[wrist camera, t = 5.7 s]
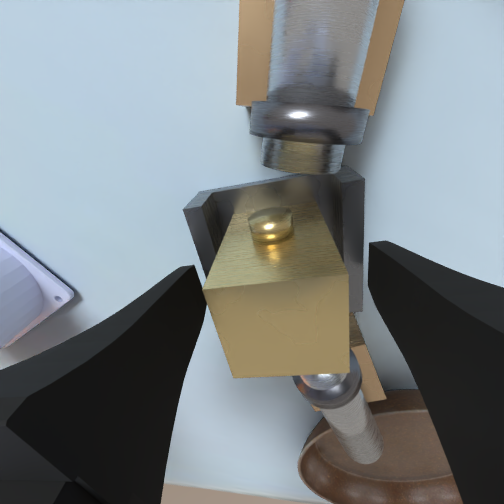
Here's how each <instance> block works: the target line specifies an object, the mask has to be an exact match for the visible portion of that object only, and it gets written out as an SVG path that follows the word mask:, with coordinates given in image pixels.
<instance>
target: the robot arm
mask: <svg viewBox="0 0 504 504" xmlns="http://www.w3.org/2000/svg"><path fill="white" fill-rule="evenodd" d="M368 287H369V290H370V293H371V295H372V298H373V300H374V303H375V305H376V308H377V310H378V311H379V313H380V315H381V317H382V319H383V320H384V322H385V324H386V326H387V328H388V329H389V331H390V333H391V335H392V337H393V338H394V340H395V342H396V344H397V345H398V347H399V349H400V351H401V353H402V354H403V356H404V358H405V360H406V362H407V364H408V366H409V368H410V370H411V372H412V375H413V377H414V379H415V382H416V384H417V386H418V388H419V391H420V393H421V395H422V398H423V400H424V403H425V405H426V408H427V410H428V412H429V415H430V417H431V420H432V422H433V425H434V427H435V430H436V432H437V435H438V437H439V440H440V443H441V445H442V448H443V450H444V453H445V455H446V458H447V461H448V463H449V466H450V468H451V471H452V474H453V477H454V479H455V482H456V485H457V488H458V491H459V493H460V496H461V499H462V502H463V504H504V288H503V287H500V286H497V285H494V284H490V283H487V282H484V281H481V280H478V279H476V278H473V277H470V276H467V275H465V274H462V273H460V272H457V271H455V270H452V269H450V268H447V267H445V266H442V265H440V264H438V263H435V262H433V261H431V260H429V259H426V258H424V257H422V256H420V255H418V254H415V253H413V252H411V251H409V250H407V249H405V248H403V247H400V246H398V245H396V244H394V243H391V242H389V241H379V242H371V243H369V262H368ZM202 289H203V288H202V285H201V283H200V280H199V277H198V274H197V271H196V268H195V266H194V265H190V266H182V267H180V268H178V269H176V270H175V271H173V272H172V273H171V274H169V275H168V276H166V277H165V278H164V279H162V280H161V281H160V282H159V283H157V284H156V285H155V286H153V287H152V288H151V289H149V290H148V291H147V292H145V293H144V294H143V295H141V296H140V297H138V298H137V299H135V300H134V301H133V302H131V303H130V304H128V305H127V306H126V307H124V308H123V309H121V310H120V311H118V312H117V313H115V314H113V315H112V316H110V317H109V318H107V319H105V320H104V321H102V322H100V323H99V324H97V325H95V326H93V327H92V328H90V329H88V330H86V331H84V332H82V333H80V334H79V335H77V336H75V337H73V338H71V339H69V340H67V341H65V342H63V343H61V344H59V345H57V346H55V347H53V348H51V349H49V350H47V351H44V352H42V353H40V354H38V355H36V356H33V357H31V358H29V359H27V360H24V361H22V362H19V363H17V364H15V365H12V366H10V367H7V368H5V369H2V370H0V504H160V503H161V497H162V490H163V484H164V477H165V470H166V464H167V459H168V453H169V447H170V442H171V436H172V431H173V426H174V421H175V417H176V412H177V407H178V403H179V398H180V394H181V390H182V386H183V381H184V378H185V375H186V371H187V368H188V365H189V362H190V359H191V357H192V354H193V351H194V348H195V345H196V342H197V339H198V337H199V334H200V331H201V328H202V325H203V321H204V317H205V312H206V306H207V302H206V299H205V296H204V293H203V291H202ZM73 297H74V292H73V291H72V290H71V289H70V288H69V287H68V286H67V285H65V284H64V283H63V282H62V281H60V280H59V279H58V278H57V277H55V276H54V275H53V274H52V273H50V272H49V271H48V270H47V269H46V268H44V267H43V266H42V265H41V264H39V263H38V262H37V261H36V260H34V259H33V258H32V257H31V256H29V255H28V254H27V253H26V252H24V251H23V250H22V249H21V248H19V247H18V246H17V245H16V244H14V243H13V242H12V241H11V240H9V239H8V238H7V237H6V236H5V235H3V234H2V233H1V232H0V349H1V348H2V347H8V346H10V345H11V344H12V343H14V342H15V341H16V340H18V339H19V338H20V337H22V336H23V335H24V334H26V333H27V332H28V331H30V330H31V329H32V328H34V327H35V326H36V325H38V324H39V323H40V322H42V321H43V320H44V319H46V318H47V317H48V316H50V315H51V314H52V313H54V312H55V311H56V310H58V309H59V308H60V307H62V306H63V305H64V304H66V303H67V302H68V301H70V300H71V299H72V298H73Z"/></svg>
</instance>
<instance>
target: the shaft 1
mask: <svg viewBox="0 0 504 504" xmlns="http://www.w3.org/2000/svg"><path fill="white" fill-rule="evenodd" d="M403 4H404V0H240V4H239V35H238V65H237V96H236V105H239V106H245V107H251V119H250V134H252V135H255V136H259V137H263V144H262V156H261V164H262V165H264V166H266V167H269V168H272V169H276V170H280V171H285V172H292V173H300V174H314V175H325V174H334V173H338V172H339V171H340V167H341V163H342V158H343V154H344V150H345V146H346V145H358V144H361V143H362V139H363V135H364V131H365V128H366V124H367V120H368V116H373V115H374V111H375V108H376V104H377V100H378V96H379V93H380V89H381V85H382V82H383V78H384V74H385V71H386V67H387V63H388V59H389V56H390V52H391V48H392V45H393V41H394V37H395V34H396V30H397V26H398V22H399V19H400V15H401V11H402V8H403Z"/></svg>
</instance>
